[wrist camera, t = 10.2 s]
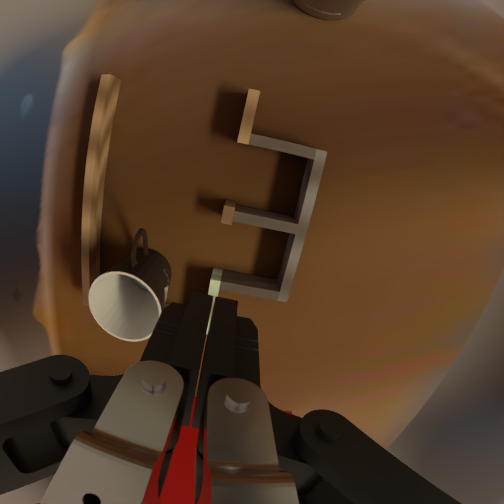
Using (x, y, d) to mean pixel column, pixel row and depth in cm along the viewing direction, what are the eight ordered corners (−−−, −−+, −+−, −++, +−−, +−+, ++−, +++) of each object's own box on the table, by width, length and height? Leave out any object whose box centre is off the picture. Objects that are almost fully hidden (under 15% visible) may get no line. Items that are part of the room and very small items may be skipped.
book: (291, 411, 49) (313, 574, 19) (278, 435, 52) (291, 581, 22) (140, 383, 47) (87, 547, 17) (139, 409, 49) (98, 556, 19)
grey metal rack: (113, 79, 30) (101, 74, 27) (328, 113, 33) (336, 110, 29) (93, 293, 41) (83, 304, 37) (271, 330, 43) (273, 345, 40)
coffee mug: (157, 310, 41) (137, 353, 32) (109, 273, 39) (77, 308, 30) (206, 252, 39) (195, 287, 29) (153, 209, 37) (125, 232, 27)
